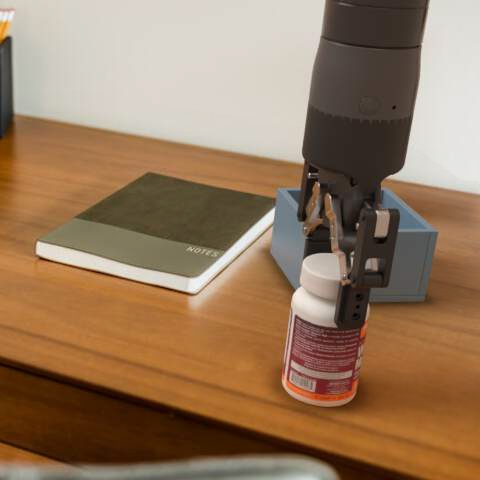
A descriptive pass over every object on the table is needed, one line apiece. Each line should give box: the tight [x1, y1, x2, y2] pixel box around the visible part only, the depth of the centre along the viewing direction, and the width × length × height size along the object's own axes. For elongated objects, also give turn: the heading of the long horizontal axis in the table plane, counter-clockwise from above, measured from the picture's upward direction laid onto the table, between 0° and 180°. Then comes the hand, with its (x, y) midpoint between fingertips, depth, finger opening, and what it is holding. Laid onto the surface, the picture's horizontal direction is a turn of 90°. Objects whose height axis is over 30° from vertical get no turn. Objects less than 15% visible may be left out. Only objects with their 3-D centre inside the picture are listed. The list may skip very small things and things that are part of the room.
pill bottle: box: [281, 253, 371, 408], centre depth 73 cm, size 6×6×11 cm
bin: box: [269, 187, 439, 303], centre depth 94 cm, size 13×13×8 cm
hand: (330, 302), depth 72 cm, fingers open, 7 cm apart
